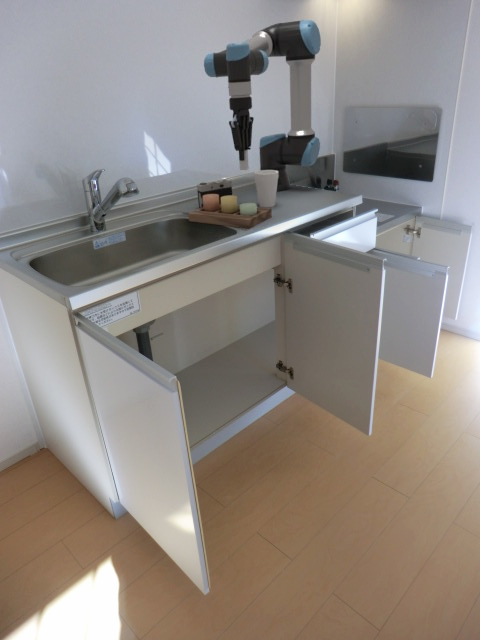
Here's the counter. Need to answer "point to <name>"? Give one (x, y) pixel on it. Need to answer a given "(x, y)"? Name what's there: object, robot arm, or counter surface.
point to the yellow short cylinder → (229, 204)
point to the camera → (214, 189)
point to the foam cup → (266, 187)
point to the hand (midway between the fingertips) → (244, 169)
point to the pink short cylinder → (211, 202)
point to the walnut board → (229, 217)
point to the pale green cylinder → (248, 209)
